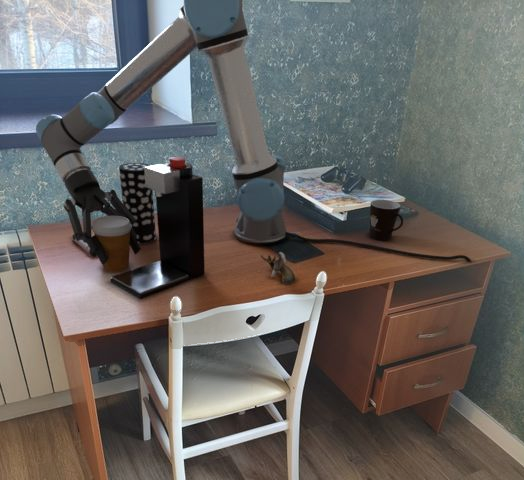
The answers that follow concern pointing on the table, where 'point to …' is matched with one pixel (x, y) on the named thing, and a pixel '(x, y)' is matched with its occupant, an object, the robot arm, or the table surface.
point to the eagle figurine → (280, 268)
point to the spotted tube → (138, 200)
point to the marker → (84, 246)
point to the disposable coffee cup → (114, 241)
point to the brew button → (177, 162)
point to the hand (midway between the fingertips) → (122, 256)
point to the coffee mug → (383, 219)
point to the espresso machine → (157, 273)
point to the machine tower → (182, 225)
